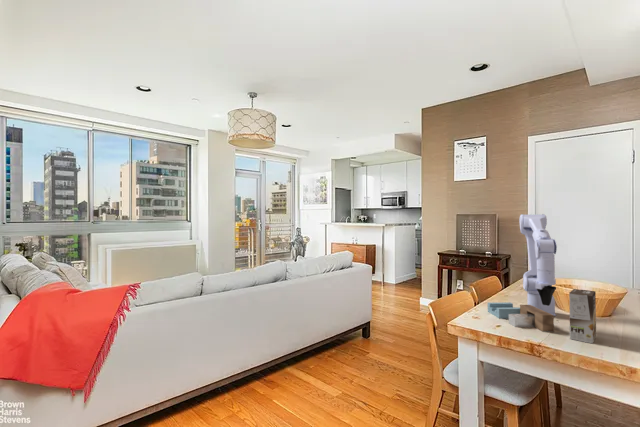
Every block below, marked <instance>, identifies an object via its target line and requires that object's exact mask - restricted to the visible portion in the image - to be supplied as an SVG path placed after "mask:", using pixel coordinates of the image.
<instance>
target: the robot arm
mask: <svg viewBox="0 0 640 427" xmlns="http://www.w3.org/2000/svg"><path fill="white" fill-rule="evenodd" d="M547 220H548V219H547V215H546V214H545V213H542V214H541V213H539V214H538V213H537V214H532V213H531V214H523V213H522V214H520V215H519V219H518V221H519V223H518V224H519V229H520V230H519V232H520V234H522V235H524V236H525V239H526V248H527V255H528V265H529V270H528V271H526V272H524V273H523V276H522V279H523V280H522V286H523V290H524V291H525V292H527V295H526V296H527V300H526V301H527V305H532V306H534V307H536V308H538V309H541V310H543V311H545V312H547V313H550V314H552V315H554V316H557V314H556V304H555V303H556V302H555V297H554V293H555V291H556V290H557V287H556V286H555V285H557V284H556V283H557V282H556V280H557V279H556V278H555V276H556V274H555V273H556V270H555V266H556V264H555V255H556V254H557V250H558V249H557V248H558V246H557V241H556V239H555V238H551V236H550V234H549V231H548V230H546V226H547V224H548V222H547Z"/></svg>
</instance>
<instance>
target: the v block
mask: <svg viewBox="0 0 640 427" xmlns="http://www.w3.org/2000/svg"><path fill="white" fill-rule="evenodd" d="M487 312H488V313H489V314H491V315H493V316H494V317H496V318H497V319H499V320H500V319H501V320H502V319H508V320H509V314H520V306H519V307H514V303H513V302H506V301H505V302H501V301H500V302H487Z"/></svg>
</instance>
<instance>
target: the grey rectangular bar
mask: <svg viewBox="0 0 640 427" xmlns="http://www.w3.org/2000/svg"><path fill="white" fill-rule="evenodd" d="M508 324H509V325H510V326H512V327H514V328H528V327H529V328H532V327H533V328H535V314H509V319H508Z"/></svg>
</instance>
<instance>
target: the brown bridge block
mask: <svg viewBox="0 0 640 427" xmlns="http://www.w3.org/2000/svg"><path fill="white" fill-rule="evenodd" d="M519 307H520V314H535V327H534V328H535V329H537V330H539V331H541V332H543V331H550V332H551V331H554V332H555V327H554V326H555V322H554V318H555V317H554V315H552V314H550V313H547V312H545V311H543V310H541V309H538V308H536V307H534V306H532V305H528V304H520V305H519Z"/></svg>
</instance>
